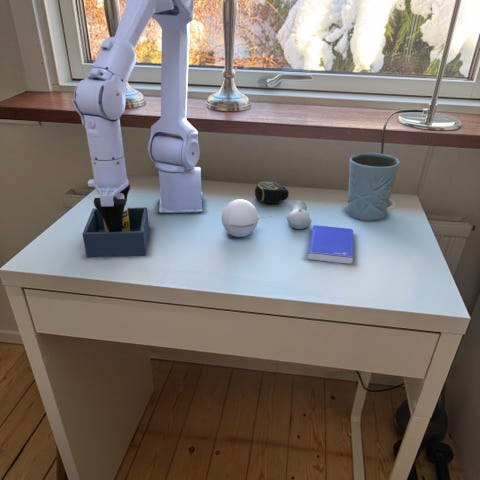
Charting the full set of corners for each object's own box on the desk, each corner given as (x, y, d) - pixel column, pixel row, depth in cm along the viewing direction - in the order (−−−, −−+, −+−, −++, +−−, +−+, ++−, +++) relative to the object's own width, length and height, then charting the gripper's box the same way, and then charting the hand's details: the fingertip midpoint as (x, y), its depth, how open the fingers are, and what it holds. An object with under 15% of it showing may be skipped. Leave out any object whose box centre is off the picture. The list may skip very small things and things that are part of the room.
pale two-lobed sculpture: (305, 237, 97) (282, 228, 97) (309, 221, 103) (288, 212, 103) (313, 220, 94) (290, 210, 94) (317, 204, 100) (295, 195, 100)
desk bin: (149, 228, 96) (147, 207, 93) (145, 255, 87) (143, 232, 84) (96, 230, 95) (92, 208, 92) (86, 257, 86) (82, 233, 83)
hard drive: (353, 256, 84) (353, 228, 94) (308, 251, 86) (313, 224, 96) (351, 264, 85) (352, 235, 95) (307, 259, 87) (312, 231, 96)
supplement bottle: (125, 244, 88) (119, 201, 83) (102, 241, 89) (94, 199, 84) (135, 233, 92) (130, 192, 87) (112, 231, 92) (106, 190, 88)
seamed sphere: (219, 242, 91) (219, 207, 87) (223, 226, 97) (223, 192, 93) (270, 245, 91) (272, 209, 87) (271, 229, 97) (273, 195, 93)
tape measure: (289, 203, 109) (290, 187, 107) (264, 208, 106) (265, 192, 104) (273, 193, 114) (274, 178, 111) (249, 198, 111) (249, 182, 109)
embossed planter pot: (396, 220, 102) (408, 165, 95) (353, 224, 100) (363, 168, 93) (374, 203, 110) (384, 151, 103) (334, 206, 108) (342, 153, 101)
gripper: (90, 144, 87) (101, 213, 95) (76, 169, 75) (90, 245, 83) (129, 144, 87) (137, 212, 95) (120, 169, 76) (130, 244, 83)
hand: (117, 228), depth 89 cm, fingers closed on supplement bottle, 5 cm apart
